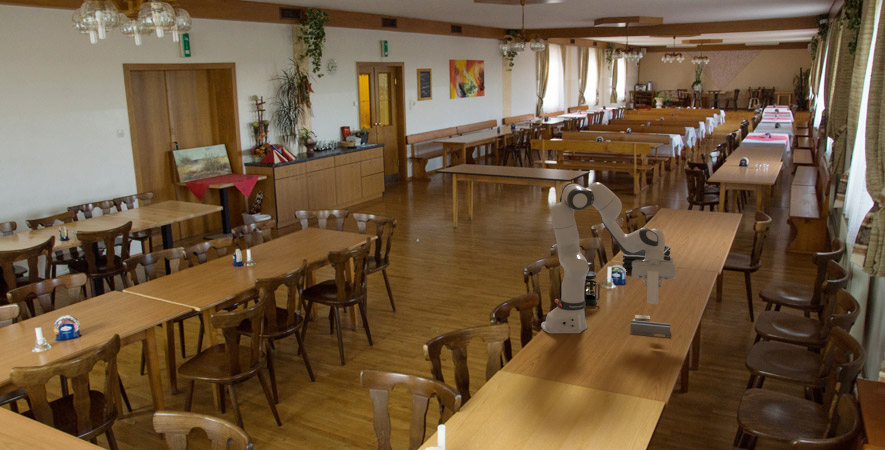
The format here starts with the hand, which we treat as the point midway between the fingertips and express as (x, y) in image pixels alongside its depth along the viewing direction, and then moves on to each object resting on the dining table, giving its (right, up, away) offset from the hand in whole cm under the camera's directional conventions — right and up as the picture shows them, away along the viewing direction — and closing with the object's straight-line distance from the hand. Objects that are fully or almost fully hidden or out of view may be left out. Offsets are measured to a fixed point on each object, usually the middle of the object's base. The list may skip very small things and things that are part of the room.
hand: (652, 285), depth 316 cm
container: (+32, +1, +116) cm, 120 cm away
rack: (+1, -23, +7) cm, 24 cm away
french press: (-19, -14, +51) cm, 56 cm away
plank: (+1, -9, +3) cm, 9 cm away
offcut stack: (-2, -21, +12) cm, 24 cm away
